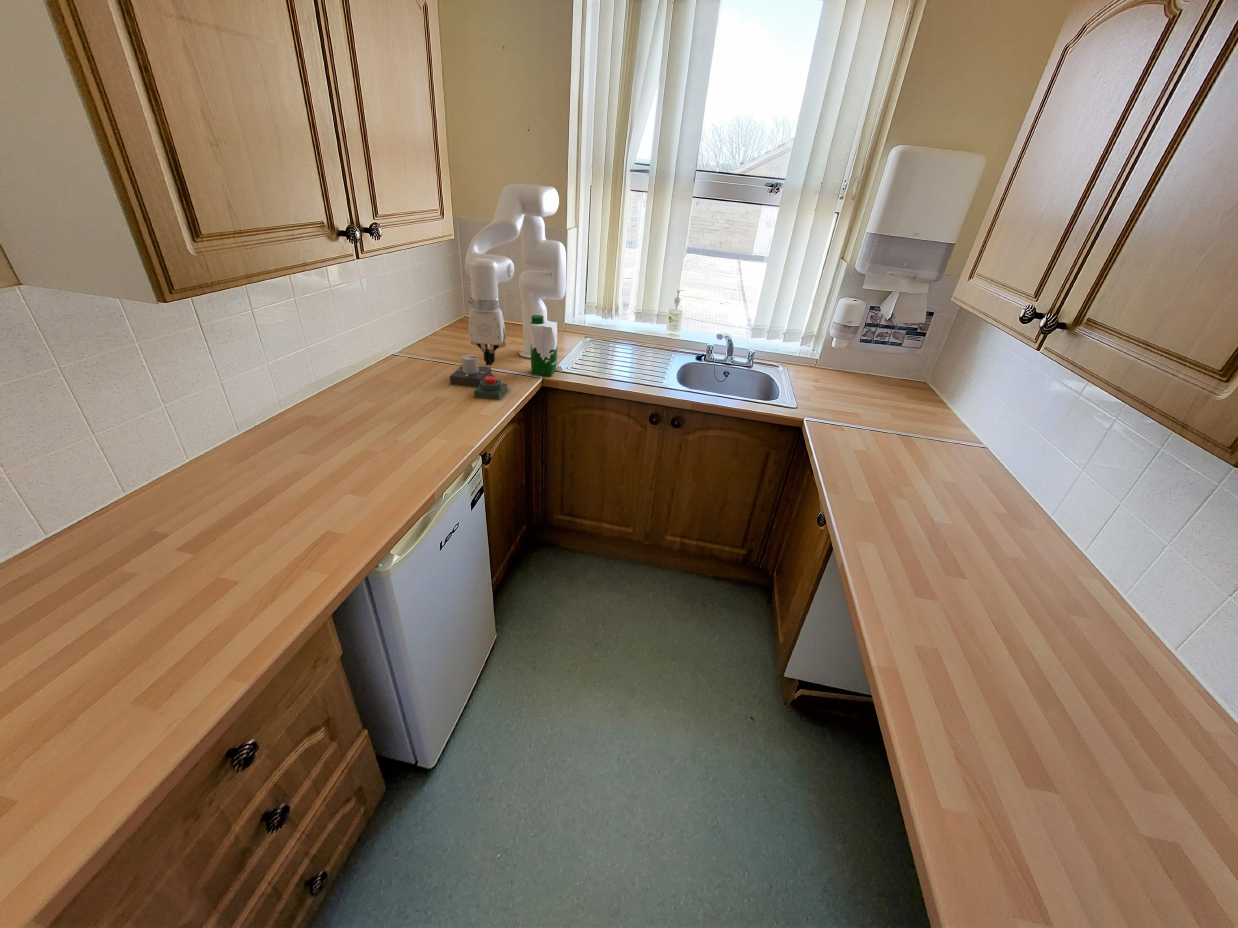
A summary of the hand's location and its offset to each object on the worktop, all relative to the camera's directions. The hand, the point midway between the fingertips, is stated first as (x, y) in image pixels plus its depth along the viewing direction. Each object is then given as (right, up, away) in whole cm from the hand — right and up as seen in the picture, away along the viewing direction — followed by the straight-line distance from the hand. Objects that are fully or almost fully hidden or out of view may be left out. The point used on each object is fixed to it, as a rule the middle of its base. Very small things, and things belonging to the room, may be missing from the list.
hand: (489, 363), depth 151 cm
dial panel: (-10, -3, +14) cm, 17 cm away
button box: (-1, -9, +5) cm, 10 cm away
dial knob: (-10, 0, +12) cm, 15 cm away
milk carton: (+13, +2, +25) cm, 28 cm away
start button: (-1, -6, +3) cm, 6 cm away
